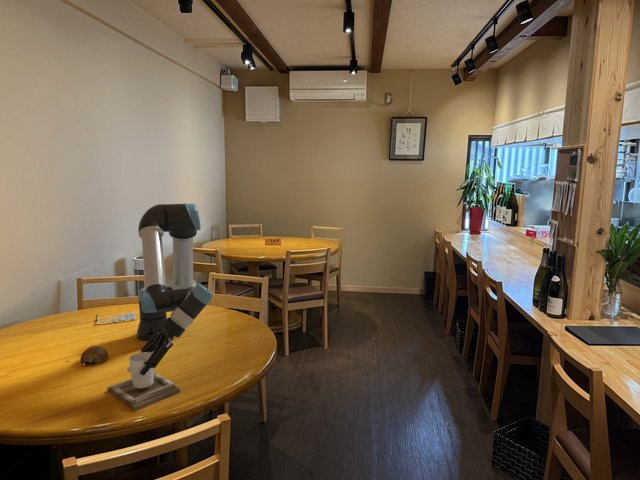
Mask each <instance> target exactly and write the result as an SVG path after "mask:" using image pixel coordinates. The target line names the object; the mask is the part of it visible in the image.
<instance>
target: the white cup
mask: <svg viewBox="0 0 640 480" xmlns="http://www.w3.org/2000/svg"><path fill="white" fill-rule="evenodd" d="M152 353H153V352H152ZM152 353H150V352H141V351H140V352H137V353H134V354H132V355H131V356H129V358H128V360H129V366H130V370H131V372H130V375H131V377H130V378H132V377H133V376H134V374H135V373H136V372H137V371H138V370H139V369H140V367H141V366H142V365H143V364H144V362H147V361H148V359H149V357H150V356H151V354H152ZM154 372H155V368H150V370H149V371H148V372H147V373H146V374H145V376H144V377H143V378H142V379H141V380H140V381H139V383H138V384H137V383H135V382H133V381H132V382H133V386H134V387H135V388H146V387H149V386H151V385H152V384H153V383H154Z"/></svg>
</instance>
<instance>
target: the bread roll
mask: <svg viewBox="0 0 640 480" xmlns="http://www.w3.org/2000/svg"><path fill="white" fill-rule="evenodd" d="M79 359H80V363H82V364H85V365H93V366H95V365H94V364H98V365H100V364H99V363H101V364H103V363H102V362H104V363H105V362H106V361H107V360H108V359H109V353H108V351H107V349H106V348H105V347H103V346H101V345H91V346H89V347H88V348H86V349H85V350H84V351H83V352H82V354H81V355H80V358H79ZM82 364H81V365H82ZM85 365H84V366H85Z"/></svg>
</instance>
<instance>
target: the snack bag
mask: <svg viewBox="0 0 640 480" xmlns="http://www.w3.org/2000/svg"><path fill="white" fill-rule="evenodd" d="M117 316H119V317H122V318H116V319H110V320H108V321H97V323H104V322H115V321H125V320H134V319H136V312H135V311H134V312H133V313H128V314H122V315H116V316H104V317H117ZM123 317H125V318H123ZM96 318H98V319H99V318H100V317H97V316H96ZM98 319H97V320H98Z"/></svg>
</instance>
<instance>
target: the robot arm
mask: <svg viewBox="0 0 640 480" xmlns="http://www.w3.org/2000/svg"><path fill="white" fill-rule="evenodd" d="M201 229H202V228H201V220H200V215H199V210H198V207H197V205H196V204H195V203H186V202H185V203H166V204H165V203H164V204H163V203H162V204H161V203H159V204H156V205H153V206H152V207H150V208H149V209H147V210H146V211H145V212H144V214H143V215H142V216H141V218H140V221H139V223H138V236H139V238H140V239H141V245H142V259H143V271H144V285H145V286H144V287H142V288H140V289H139V291H138V299H137V300H138V306H139V307H138V308H139V309H138V310H139V323H138V327H137V331H136V337H137V339H138V340H140V341H145V342H146V341H147V342H146V343H145V344H144V345H142V347H141V348H140V353H141V352H150V353H152V354H151V356H150V357H149V359H148V361H147V362H144V364H143V365H142V366H141V367H140V369H139V370H138V371H137V372H136V373H135V374H134V376H133V377H130V379H131V380H132V381H133V382H135V383H137V384H138V383H139V381H140V380H141V379H142V378H143V377H144V376H145V374H146V373H147V372H148V371H149V370H150V368H154V369H155V368H156V367H157V366H158V364H159V363H160V362H161V361H162V359H163V358H164V357H165V355H166V354H167V353H168V351H169V350H170V349H171V348H172V347H173V346H174V343H173V342H172V341H173V339H174V337H175V338H180V337H181V336H182V335H183V333H185V331H186V329H187V328H189V327H190V326H191V324H193V323H194V320H195V319H197V317H198V316H199V314H201V312H202V311H203V310H204V309H205V307H206V306H207V305H209V304H210V301H211V300H212V299H213V297H214V294H213V292H212V291H210V290H209V289H208V288H206V287H205V286H204V285H203V284H202V283H197V282H196V280H195V279H194V237H197V235H198V233H197V232H198V231H201ZM164 233H168V234H169V236H170V237H171V238H172V262H173V263H172V267H173V273H172V275H173V280H172V281H171V282H170V285H169V286H167V278H166V277H167V276H166V275H167V274H166V267H165V259H164V258H165V257H164V247H163V238H162V237H163V236H164ZM168 312H171V313H170V316H169V317H167V315H168V314H167V313H168ZM126 371H127V372H129V373H131V370H130V365H129V366H128V367H127V369H126Z"/></svg>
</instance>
